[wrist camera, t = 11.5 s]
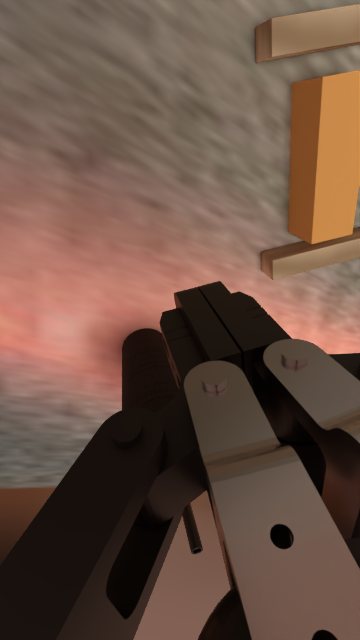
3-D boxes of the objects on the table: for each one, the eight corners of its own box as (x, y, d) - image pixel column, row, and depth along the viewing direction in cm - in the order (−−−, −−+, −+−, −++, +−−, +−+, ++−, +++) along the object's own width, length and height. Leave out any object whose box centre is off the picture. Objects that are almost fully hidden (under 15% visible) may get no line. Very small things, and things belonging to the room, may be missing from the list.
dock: (255, 27, 23) (271, 18, 21) (460, -6, 25) (493, -18, 23) (261, 270, 34) (272, 279, 32) (406, 232, 36) (426, 239, 34)
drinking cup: (133, 304, 32) (183, 498, 15) (193, 334, 36) (286, 519, 19) (94, 360, 34) (101, 585, 18) (154, 384, 38) (207, 588, 21)
